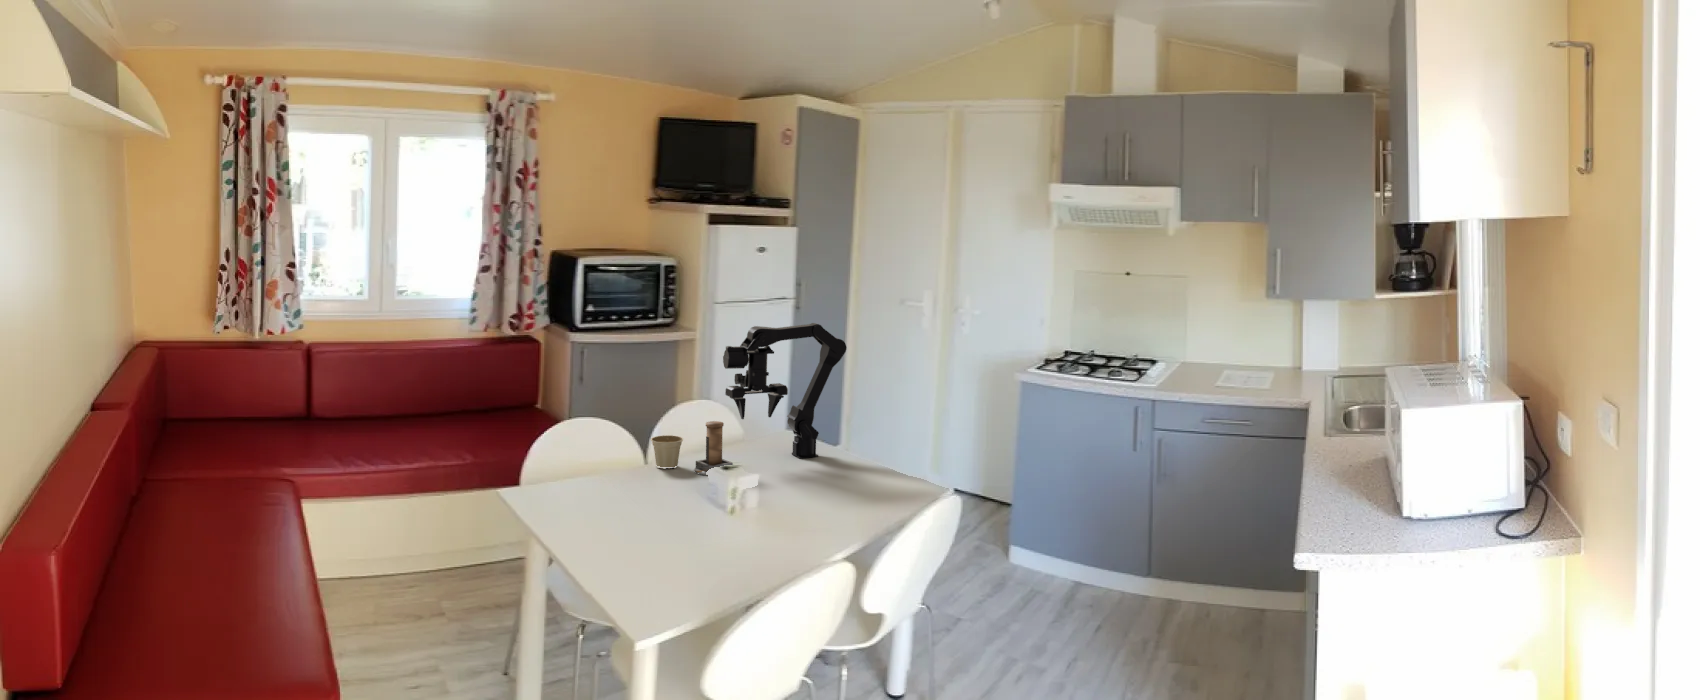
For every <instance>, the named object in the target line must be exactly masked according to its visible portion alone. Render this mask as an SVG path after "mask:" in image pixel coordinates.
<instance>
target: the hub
mask: <svg viewBox="0 0 1700 700" xmlns="http://www.w3.org/2000/svg"><path fill="white" fill-rule="evenodd" d="M724 465H733V462H732V461H729V460H726V459H723V458H722V464H717V465H708V464H706V458H705V459H699V460H698V459H697V460H695V467H694V469H693V471H695V472H696V473H699V474H702V475H701V476H704V475H706V472H707V471H708V470H709V469H711V468H714V467H720V466H724ZM733 466H734V465H733ZM695 472H694V473H695ZM696 473H695V474H696ZM699 474H698V475H699Z"/></svg>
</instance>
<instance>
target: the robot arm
mask: <svg viewBox="0 0 1700 700" xmlns="http://www.w3.org/2000/svg"><path fill="white" fill-rule="evenodd" d="M805 338H806V339H807V338H813V339H814V340H815V341H816V342H817V343H818V344H819V345H821V348H820V350H819V362H818V364H817V366H816V369H815V370H814V373H813V375H812V376H811V377H812V378H811V379H810V382H809V383H808V386H807V389H805V390H806V391H805V393H804V395H803V398H801V399H802V400H801V402H800V403H799V404H798V405H797V406H796V405H792V406H791V407H790V412H789V414H787V416H786V417H787V424H788V427H789V428H790V430H792V432H793V435H794V436H793V441H792V452H791V455H792V456H794V457H797V458H799V459H805V458H806V459H809V458H817V457H819V454H818V453H817V439H818V437H819V433H820V432H819V431H818V430H817V429H816V428H815V427H814V426H813V422H814V419H815V409H816V405H817V404H818V401H819V399H820V396H821V395H822V393H823V390H824V388H825V386H826V384H827V381H828V379H829V377H830V375H831V373H832V371H833V368H834V367H835V366H836V365H837V364H838V363H839V362H840V361H841V360H842V358H843V357H844V355H845V353H846V352H847V344H846V342H845V340H842V339H841V338H838V337H835V336H834V335H833V334H831V333H830V332H829V331H827V330H826V329H825V328H824V327H823V326H822V325H821V324H819V323H816V322H811V323H808V324H799V325H798V324H797V325H792V326H791V325H790V326H783V327H781V326H780V327H770V326H769V327H768V326H758V325H757V326H756V325H753V326H752V327H750V328H749V330H748V332H747V334H746V337H745V339H744V340H743V341H742V343H741V344H740V345H739V346H731V345H725V350H724V353H723V356H722V363H723V367H724V369H725V370H726V369H727V370H728V369H729V370H730V369H733V370H734V369H744V368H746V367H747V370H746V371H745V375H743V374H742V373H741V372H740V373H735V374H734V384H735V385H727V387H726V388H725V394H724V395H725V396H727V397H729V398H730V399H732V400H733V401H734V402H735V404H736V407H737V409H738V413H739V416H740V420H745V414H746V413H745V412H746V398H745V395H755V394H757V395H758V394H767V398H768V406H767V408H768V409H767V417H768V418H772V416H773V414H774V412H775V410H776V407H778V404H779V402H780V401H781V399H784V397H785V396H788V394H789V392H788V391H789V389H788V387H787V385H785V384H782V383H779V382H778V383H769V384H768V383H767V381H768V380H767V378H768V376H770V373H769V372H768V355H769V354H772V355H774V354H775V351H774V350H773V349H772V348H771V347H770V346H771V345H773V344H776V343H778V342H782V341H787V340H788V341H789V340H797V339H798V340H799V339H805ZM767 384H768V385H767Z"/></svg>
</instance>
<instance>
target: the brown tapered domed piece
mask: <svg viewBox="0 0 1700 700" xmlns="http://www.w3.org/2000/svg"><path fill="white" fill-rule="evenodd" d="M724 424H725V423H724V422H723V421H720V420H719V421H717V420H716V421H715V420H713V421H706V422H705V427H706V436H705V459H706V464H708V465H717V464H722V459H723V427H724V426H725V425H724Z"/></svg>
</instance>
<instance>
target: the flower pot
mask: <svg viewBox="0 0 1700 700" xmlns="http://www.w3.org/2000/svg"><path fill="white" fill-rule="evenodd" d="M650 441H651V442H652V446H653V450H654V451H653V452H654V457H655V465H657V466H660V467H675V466H677V465H678V464H679V460H680V459H679V456H680V451H681V446H682V442H683V441H684V438H683V437H681V436H679V435H673V434H671V435H670V434H667V435H665V434H664V435H657V436H653V437H652V438H650ZM657 466H656V467H657ZM677 467H678V466H677Z"/></svg>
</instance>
